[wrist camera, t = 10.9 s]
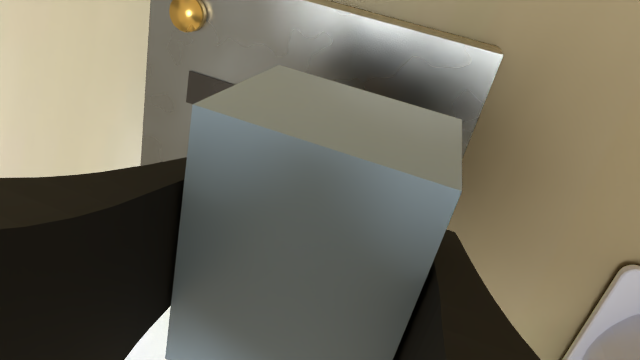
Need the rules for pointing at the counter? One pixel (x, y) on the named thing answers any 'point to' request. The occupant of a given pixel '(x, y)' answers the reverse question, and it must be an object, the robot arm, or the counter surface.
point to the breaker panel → (301, 60)
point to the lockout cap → (308, 220)
